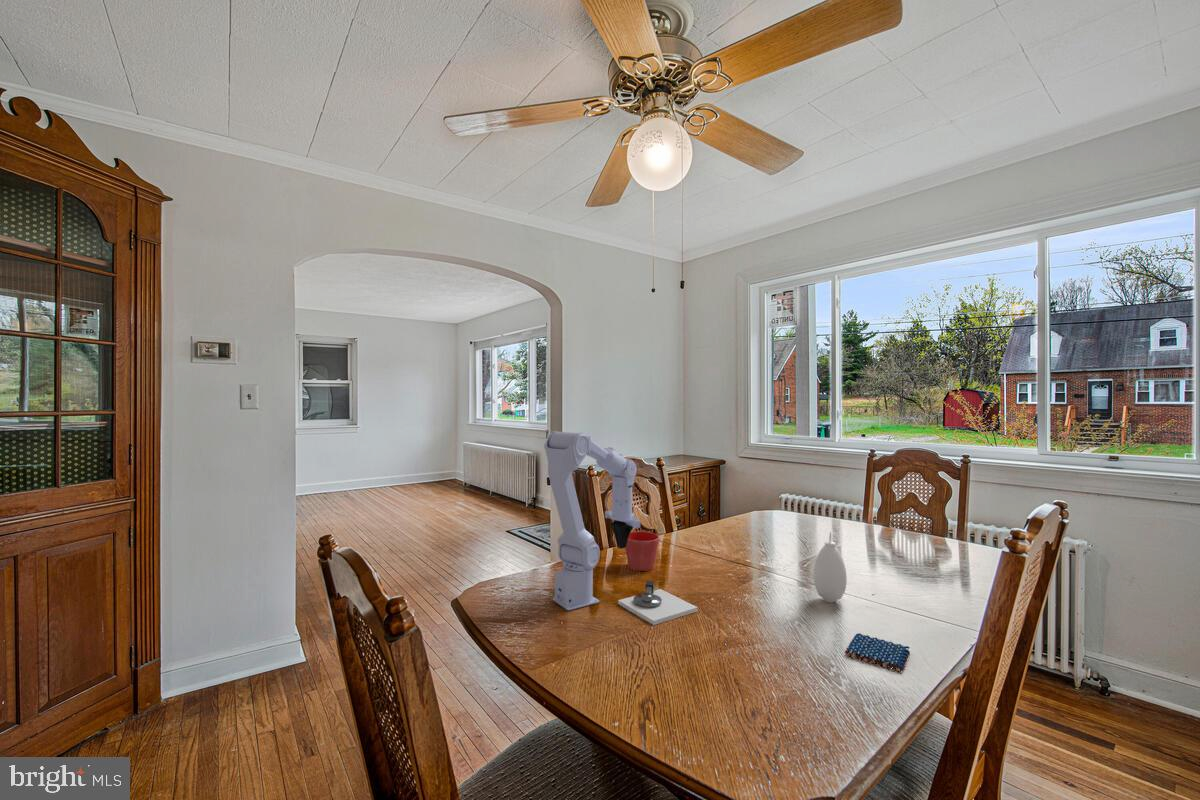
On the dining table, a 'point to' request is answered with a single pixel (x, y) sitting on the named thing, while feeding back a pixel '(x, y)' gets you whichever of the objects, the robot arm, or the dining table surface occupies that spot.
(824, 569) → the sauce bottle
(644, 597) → the crank handle
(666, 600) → the stand plate
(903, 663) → the woven mat
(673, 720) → the dining table surface
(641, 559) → the flower pot
